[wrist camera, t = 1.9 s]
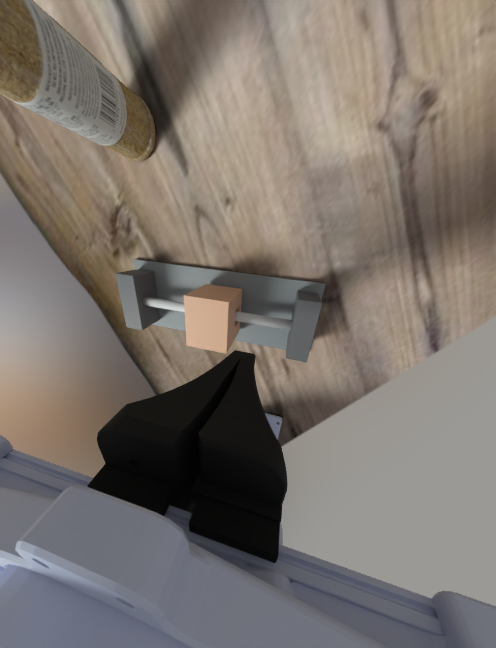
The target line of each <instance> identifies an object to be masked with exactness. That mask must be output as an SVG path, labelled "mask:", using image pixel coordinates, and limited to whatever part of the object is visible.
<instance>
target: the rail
mask: <svg viewBox="0 0 496 648" xmlns="http://www.w3.org/2000/svg"><path fill="white" fill-rule="evenodd" d="M134 265H135V270H131V271H126V272H120V273H115V274H116V279H117V284H118V288H119V293H120V298H121V302H122V307H123V312H124V317H125V321H126V326H127V327H129V328H134V329H139V330H143V329H145V328H147V327H148V326H150V325H156V326H162V327H167V328H172V329H178V330H183V331H186V326H185V310H184V295H185V294H187V293H189V292H191V291H193V290H195V289H197V288H199V287H201V286H203V285H205V284H211V285H218V286H225V287H232V288H239V289H243V290H242V303H241V312H238V311H235V321H239V322H240V330H239V333H238V335H237V336H236V338H235V340H236V341H242V342H247V343H252V344H257V345H263V346H268V347H273V348H279V349H284V350H286V358H288V359H293V360H298V361H303V362H307V359H308V355H309V351H310V348H311V344H312V340H313V337H314V333H315V329H316V325H317V322H318V318H319V314H320V310H321V307H322V301H321V300H322V296H323V293H324V289H325V285H326V284H325V283H320V282H312V281H304V280H296V279H288V278H280V277H272V276H264V275H257V274H249V273H241V272H233V271H225V270H217V269H209V268H201V267H193V266H186V265H178V264H170V263H162V262H154V261H146V260H138V259H134Z"/></svg>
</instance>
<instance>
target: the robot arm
mask: <svg viewBox="0 0 496 648" xmlns="http://www.w3.org/2000/svg"><path fill="white" fill-rule="evenodd" d="M254 364H255V355H254V354H251V353H246V352H241V351H236V350H235V351H234V352H232V353H231V354H230V355H229V356H228V357H226V358H225V359H224V360H223V361H221V362H220V363H219V364H217V365H216V366H215V367H213V368H212V369H210V370H209V371H207V372H206V373H204V374H203V375H201V376H199V377H198V378H196V379H194V380H192V381H190V382H188V383H186V384H184V385H182V386H180V387H177V388H175V389H173V390H171V391H168V392H165V393H163V394H160V395H157V396H154V397H151V398H148V399H144V400H141V401H137V402H133V403H130V404H127V405H126V406H125V407H123V408H122V409H121V410H120V411H119V412H118V413H117V414H116V415H115V416H114V417H113V418H112V419H111V420H110V421H109V422H108V423H107V424H106V425H105V426H104V427H103V428H102V429H101V430H100V431H99V432H98V436H97V442H98V445H99V448H100V450H101V453H102V455H103V458H104V460H105V463H106V464H105V465H104V467H103V468H102V469H101V470H100V471H99V472H98V474H97V475H96V476H95V477H94V478H92V477H89V476H86V475H84V474H81V473H78V472H75V471H72V470H70V469H67V468H64V467H61V466H58V465H56V464H53V463H50V462H47V461H44V460H42V459H38V458H36V457H33V456H30V455H28V454H25V453H22V452H19V451H16V450H14V449H13V447H12V445H11V444H10V442H9V441H8V440H7V439H6V438H4V437H3V436H1V435H0V648H496V606H493V605H490V604H487V603H484V602H481V601H478V600H475V599H472V598H470V597H467V596H464V595H461V594H458V593H454V592H450V591H442V592H438V593H437V594H435V595H434V596H433V598H432V599H431V598H428V597H425V596H423V595H420V594H417V593H414V592H411V591H409V590H406V589H403V588H400V587H397V586H395V585H392V584H389V583H386V582H383V581H381V580H378V579H375V578H372V577H370V576H367V575H364V574H361V573H358V572H356V571H353V570H350V569H347V568H344V567H342V566H339V565H336V564H333V563H330V562H328V561H325V560H322V559H319V558H316V557H313V556H310V555H308V554H305V553H302V552H299V551H297V550H294V549H291V548H288V547H285V546H283V540H282V539H283V535H282V525H281V514H282V503H283V500H284V497H285V494H286V491H287V473H286V467H285V462H284V457H283V452H282V448H281V445H280V443H279V442H278V436H279V432H280V428H281V424H282V418H281V417H279V416H276V415H271V414H267V413H265V412H264V410H263V407H262V404H261V401H260V398H259V395H258V391H257V386H256V381H255V374H254Z"/></svg>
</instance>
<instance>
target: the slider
mask: <svg viewBox="0 0 496 648" xmlns="http://www.w3.org/2000/svg"><path fill="white" fill-rule="evenodd" d="M242 290H243V289H239V288H232V287H225V286H218V285H211V284H205V285H203V286H201V287H199V288H197V289H195V290H193V291H191V292H189V293H187V294H185V295H184V310H185V326H186V342H187V346H191V347H196V348H201V349H206V350H211V351H216V352H221V353H227V352H228V350H229V348H230V347H231V345H232V343H233V342H234V340H235V338H236V336H237V335H238V333H239V330H240V322H239V321H235V311H238V312H241V303H242Z"/></svg>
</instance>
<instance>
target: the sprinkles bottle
mask: <svg viewBox="0 0 496 648" xmlns="http://www.w3.org/2000/svg"><path fill="white" fill-rule="evenodd" d="M0 94H2V95H4V96H5V97H7V98H8V99H10V100H12V101H14V102H15V103H17V104H20V105H22V106H24V107H26V108H28V109H30V110H32V111H34V112H36V113H38V114H40V115H42V116H44V117H46V118H48V119H50V120H52V121H54V122H56V123H58V124H60V125H62V126H64V127H66V128H68V129H70V130H72V131H74V132H76V133H78V134H80V135H82V136H84V137H86V138H88V139H90V140H92V141H94V142H96V143H98V144H100V145H104V146H106V147H108V148H110V149H112V150H114V151H116V152H119V153H120V154H122V155H123V156H124V157H126V158H128V159H129V160H131V161H135V162H138V161H143V160H145V159H146V158H147V157H148V156H149V155H150V153H151V152H152V150H153V148H154V144H155V125H154V120H153V117H152V114H151V112H150V110H149V108H148V107H147V105H146V104H145V102H144V101H143V100H142V99H141V98H140V97H139V96H138V95H137V94H135V93H133V92H132V91H130V90H129V89H128V88H127V87H126V86H125V85H124V84H123V83H122V82H120V81H119V80H118V79H117V78H116V77H115V76H114V75H113V74H112V73H110V71H108V70H107V69H106V68H105V67H104V66H103V65H102V64H101V62H100V61H98V60H97V59H96V58H95V57H94V56H93V55H92V54H91V53H90V52H89V51H88V50H87V49H86V48H85V47H84V46H82V45H81V44H80V43H79V42H78V41H77V40H76V39H75V38H74V37H73V36H71V35H70V34H69V33H68V32H67V31H66V30H65V29H64V28H63V27H62V26H61V25H60V24H59V23H58V22H56V21H55V20H54V19H53V18H52V17H50V16H49V15H48V14H47V13H46V12H45V11H43V10H42V9H41V8H40V7H39V6H38V5H37V4H36V3H35V2H34V1H33V0H0Z"/></svg>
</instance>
